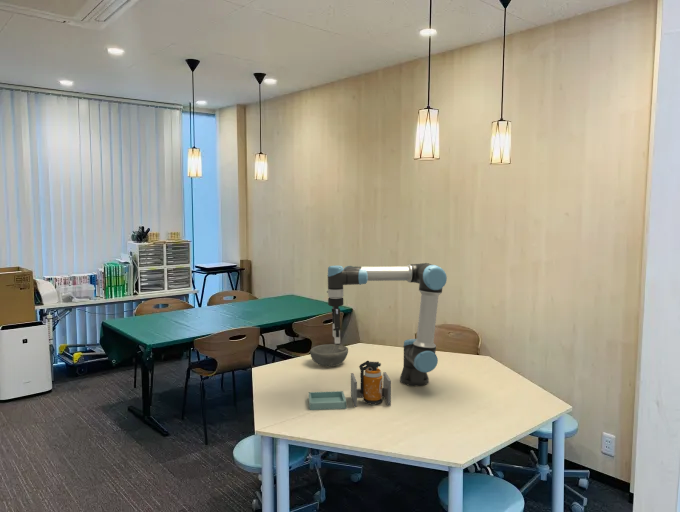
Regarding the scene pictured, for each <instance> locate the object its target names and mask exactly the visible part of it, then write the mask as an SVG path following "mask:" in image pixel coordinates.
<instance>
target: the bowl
mask: <svg viewBox="0 0 680 512" xmlns="http://www.w3.org/2000/svg"><path fill="white" fill-rule="evenodd" d="M309 353H310V357H311V359H312V360H313V362H315V363H316V364H317V365H319V366H322V367H336V366H338V365H341V364H342V363H343V362H344V361H345V360H346V358H347V356H348V353H349V348H348V347H347V346H345V345H342V344H335V343H334V344H332V343H329V344H320V345H319V344H318V345H315V346H313V347H312V348H311V349H310V351H309Z"/></svg>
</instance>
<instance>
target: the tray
mask: <svg viewBox="0 0 680 512" xmlns="http://www.w3.org/2000/svg"><path fill="white" fill-rule="evenodd" d="M308 405H309V410H310V411H317V410H318V411H319V410H322V411H323V410H340V409H341V410H342V409H344V410H345V409H347V408H348V407H347V399H346V396H345V392H344V390H339V391H338V390H337V391H335V390H333V391H308Z"/></svg>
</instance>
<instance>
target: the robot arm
mask: <svg viewBox="0 0 680 512" xmlns="http://www.w3.org/2000/svg"><path fill="white" fill-rule="evenodd" d="M447 277H448V276H447V273H446V271H445V270H444V269H443V268H442V267H440V266H439V265H436V264H434V263H433V264H432V263H427V262H425V263H424V262H423V263H409V264H407V265H396V266H391V265H390V266H389V265H388V266H386V265H385V266H383V265H382V266H378V265H377V266H375V265H373V266H370V265H369V266H368V265H367V266H364V265H363V266H353V265H347V266H345V267H343V266H342V265H330V266H328V267H327V289H328V290H327V291H326V293H327V297H328V298H327V304H328V306H329V307H331V315H332V319H331V322H332V337H333V338H334V344H335V345H340V344H341V308H339V307H342V306H344V296H345V295H344V286H350V285H354V286H355V285H367V283H368V282H369V281H371V282H372V281H373V282H375V281H376V282H377V281H378V282H379V281H380V282H381V281H382V282H383V281H384V282H386V281H387V282H390V281H391V282H392V281H395V282H396V281H398V282H400V281H403V282H405V281H407V283H414V284H415V283H416V284H418V291H419V292H420V295H421V296H420V302H419V303H420V305H419V314H418V322H417V323H418V324H417V333H416V338H409V339H405V340H404V342H403V368H402V370H401V374H400V376H399V382H400V383H401V384H402V385H406V386H409V387H410V386H411V387H421V386H422V387H423V386H425V385H428V384H429V375H428V373H430V372H432V371H433V370H435V369H436V367H437V365H438V364H439V363H438V362H439V359H438V356H437V354H436V353H437V352H436V351H437V345H436V344H435V343H434V341H435V331H436V322H437V313H438V306H439V305H438V304H439V296H441V294H442V293H443V288H444V287H445V285H446V284H447V279H448V278H447Z"/></svg>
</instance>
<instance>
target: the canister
mask: <svg viewBox="0 0 680 512" xmlns="http://www.w3.org/2000/svg"><path fill="white" fill-rule="evenodd" d="M381 366H382V363H381V362H379V361H369V360H366V361H364V362H362V363H361V364H359V366H358V367H359V370H360V373H359V374H360V375H359V376H360V389H361V390H360V393H361V394H363V397H362V398H363V402H364V403H365V404H368V405H378V404H380V403H382V401H383V397H382V388H383V374H382V371H381V369H380V368H379V367H381Z"/></svg>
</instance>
